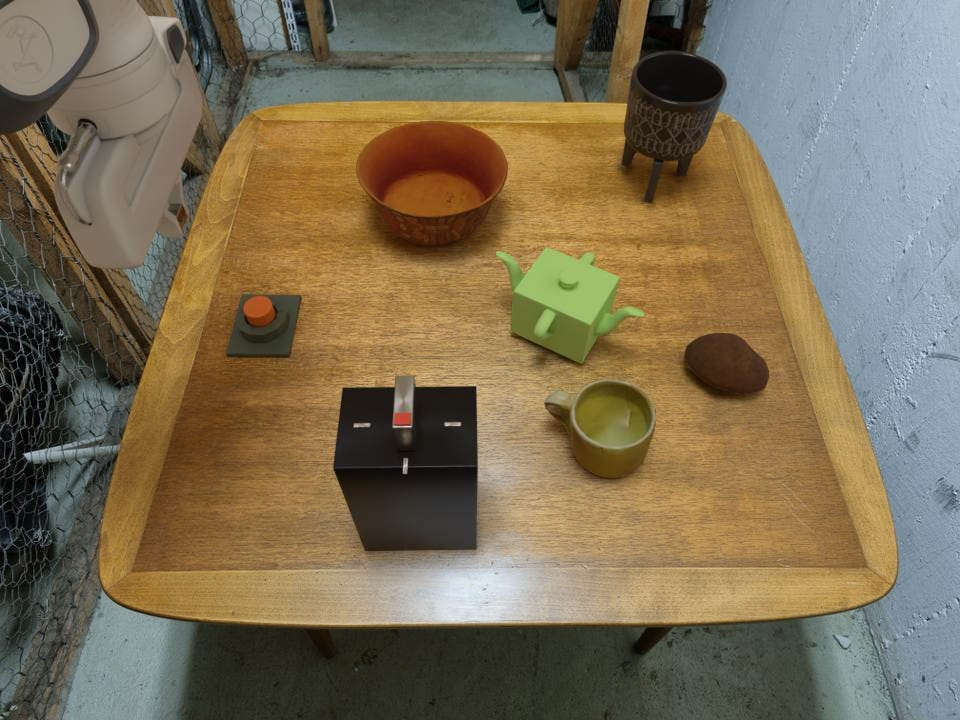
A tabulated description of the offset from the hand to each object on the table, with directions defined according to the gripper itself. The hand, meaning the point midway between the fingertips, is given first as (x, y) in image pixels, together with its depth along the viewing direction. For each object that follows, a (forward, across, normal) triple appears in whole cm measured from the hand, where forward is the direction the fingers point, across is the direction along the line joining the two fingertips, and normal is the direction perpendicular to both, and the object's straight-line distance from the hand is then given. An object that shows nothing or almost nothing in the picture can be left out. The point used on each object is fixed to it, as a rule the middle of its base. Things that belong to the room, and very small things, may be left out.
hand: (176, 226), depth 59 cm
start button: (+27, +12, +2) cm, 29 cm away
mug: (+29, -5, -40) cm, 50 cm away
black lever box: (+29, -15, -20) cm, 38 cm away
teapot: (+29, +12, -37) cm, 49 cm away
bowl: (+29, +33, -20) cm, 48 cm away
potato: (+29, +4, -57) cm, 64 cm away
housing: (+29, +12, +2) cm, 31 cm away
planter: (+29, +42, -54) cm, 74 cm away
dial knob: (+9, -15, -20) cm, 27 cm away
